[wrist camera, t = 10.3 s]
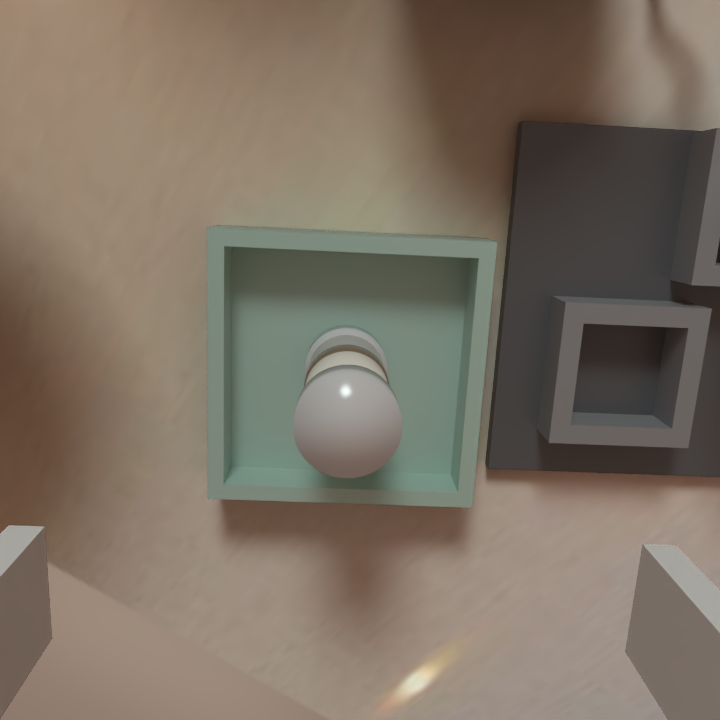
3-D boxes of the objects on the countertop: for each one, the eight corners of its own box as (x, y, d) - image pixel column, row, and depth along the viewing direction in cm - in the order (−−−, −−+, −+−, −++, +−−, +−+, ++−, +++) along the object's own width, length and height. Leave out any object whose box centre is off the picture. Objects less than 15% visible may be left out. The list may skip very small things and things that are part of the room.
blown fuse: (304, 401, 36) (291, 476, 26) (307, 323, 35) (294, 372, 25) (383, 404, 36) (398, 480, 27) (388, 327, 35) (405, 376, 26)
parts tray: (218, 475, 38) (207, 498, 35) (218, 225, 34) (207, 227, 32) (462, 483, 38) (472, 507, 35) (484, 238, 35) (497, 242, 32)
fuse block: (485, 463, 38) (540, 564, 27) (519, 122, 34) (598, 89, 23) (766, 473, 38) (925, 577, 28) (832, 140, 34) (1049, 115, 24)
